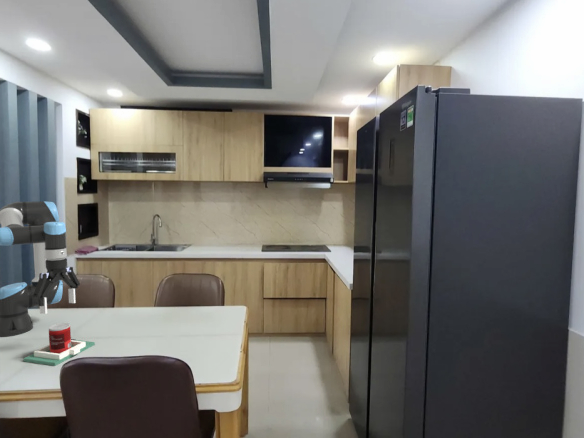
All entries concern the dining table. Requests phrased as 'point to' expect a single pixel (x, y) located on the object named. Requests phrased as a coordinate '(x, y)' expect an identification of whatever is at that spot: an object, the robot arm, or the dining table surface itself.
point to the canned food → (59, 337)
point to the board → (54, 358)
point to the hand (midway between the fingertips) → (58, 307)
